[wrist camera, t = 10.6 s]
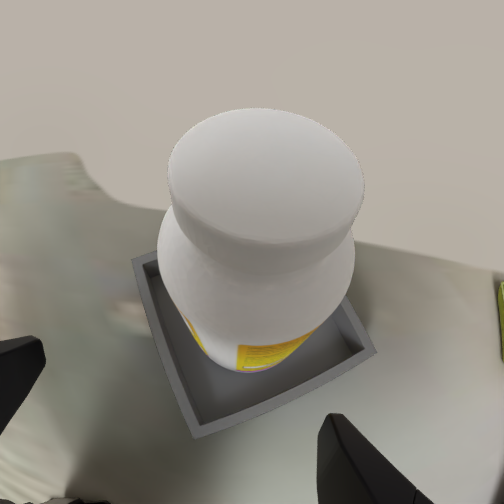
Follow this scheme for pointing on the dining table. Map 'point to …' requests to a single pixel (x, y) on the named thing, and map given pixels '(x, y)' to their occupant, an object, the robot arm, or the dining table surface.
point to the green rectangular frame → (501, 313)
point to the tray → (239, 383)
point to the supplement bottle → (258, 233)
